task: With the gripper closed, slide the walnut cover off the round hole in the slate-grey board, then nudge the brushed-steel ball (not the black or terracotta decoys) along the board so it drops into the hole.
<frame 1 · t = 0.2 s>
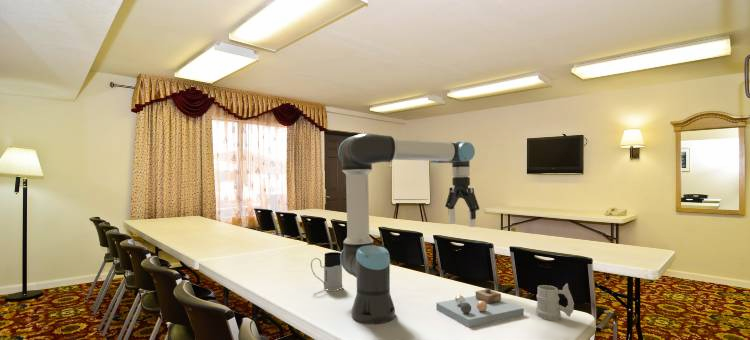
hand: (461, 225, 161), 27 cm above the table, fingers open, 13 cm apart
cover: (488, 294, 136), point 5 cm above the table, slide at 0.0 cm
board: (479, 312, 130), on the table
steel ball: (459, 300, 130), point 4 cm above the table, touching board
mug: (554, 318, 125), on the table
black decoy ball: (465, 307, 123), point 4 cm above the table, touching board
glass holder: (327, 289, 160), on the table
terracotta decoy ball: (481, 306, 124), point 4 cm above the table, touching board
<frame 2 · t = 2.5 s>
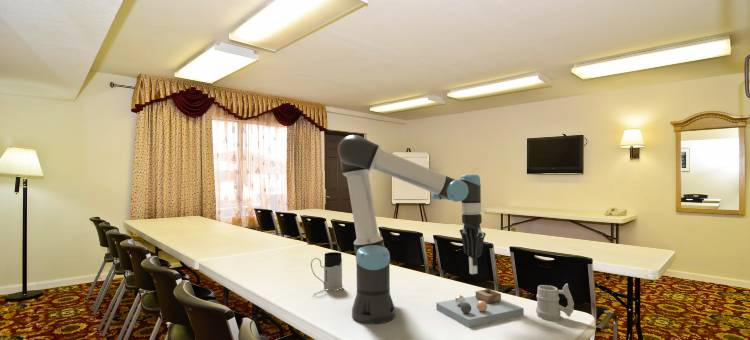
hand: (473, 273, 144), 10 cm above the table, fingers closed
nothing on the table moved.
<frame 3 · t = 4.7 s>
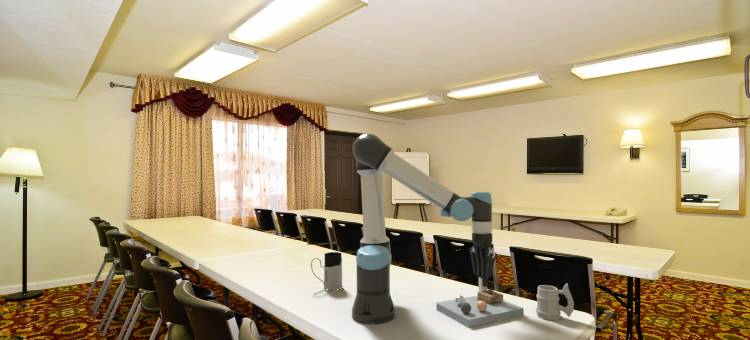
hand: (483, 294, 138), 4 cm above the table, fingers closed
cover: (490, 295, 135), point 5 cm above the table, slide at 1.1 cm, touching gripper
everything else where it was.
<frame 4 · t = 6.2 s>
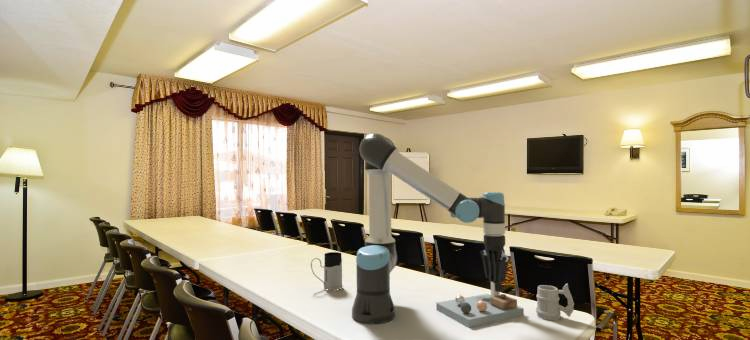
hand: (495, 299, 132), 4 cm above the table, fingers closed
cover: (503, 300, 129), point 5 cm above the table, slide at 7.6 cm, touching gripper
everything else where it was.
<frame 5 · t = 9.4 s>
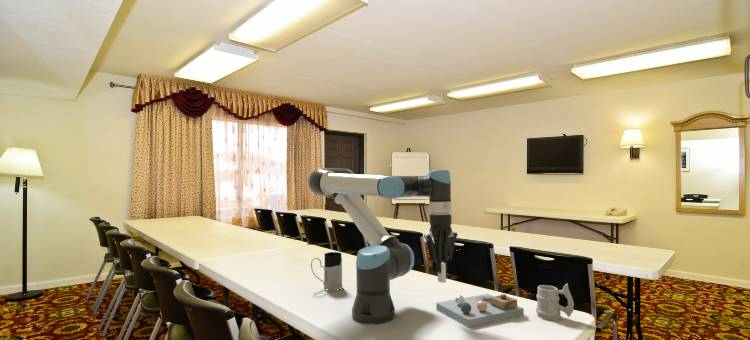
hand: (441, 281, 127), 12 cm above the table, fingers closed
cover: (503, 300, 129), point 5 cm above the table, slide at 7.7 cm
everything else where it was.
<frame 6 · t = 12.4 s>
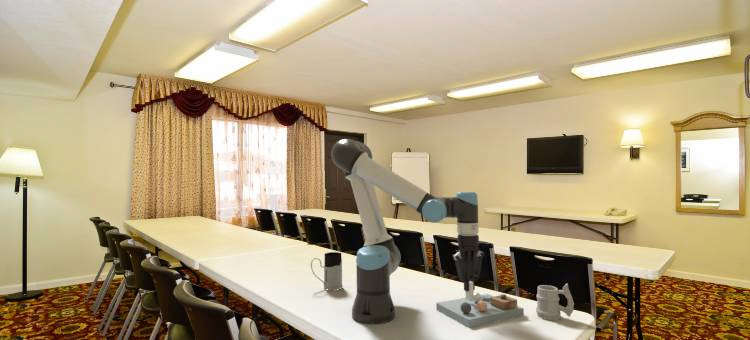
hand: (469, 299, 132), 4 cm above the table, fingers closed
steel ball: (476, 297, 133), point 4 cm above the table, tilted 119°, touching board
everything else where it was.
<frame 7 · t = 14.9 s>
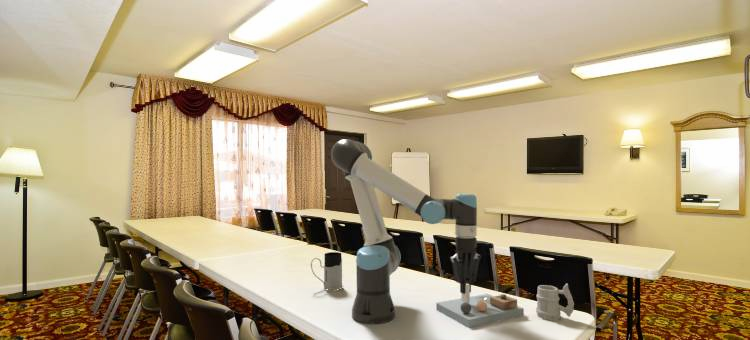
hand: (465, 301, 132), 3 cm above the table, fingers closed
steel ball: (487, 302, 136), point 2 cm above the table, tilted 75°
everything else where it was.
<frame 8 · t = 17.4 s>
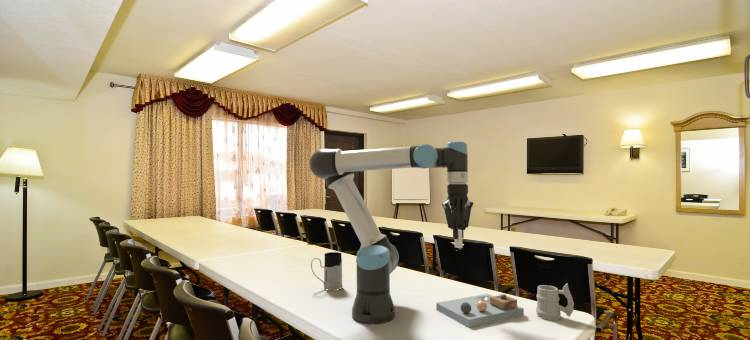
hand: (458, 247, 134), 22 cm above the table, fingers closed
nothing on the table moved.
at the end: steel ball 0.3 cm from the target spot in the board, point 1.7 cm above the board's base; cover slide at 7.7 cm; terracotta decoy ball moved 0.1 cm from its start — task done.
